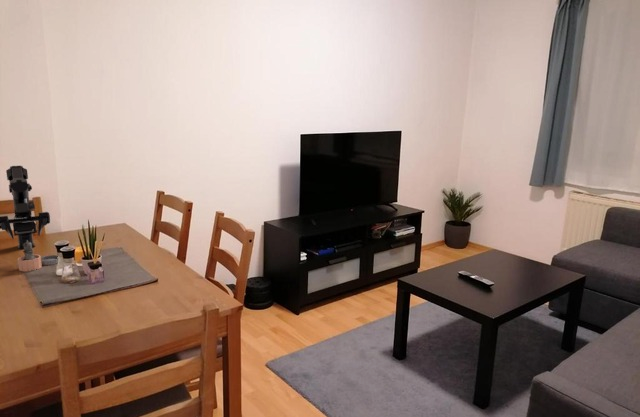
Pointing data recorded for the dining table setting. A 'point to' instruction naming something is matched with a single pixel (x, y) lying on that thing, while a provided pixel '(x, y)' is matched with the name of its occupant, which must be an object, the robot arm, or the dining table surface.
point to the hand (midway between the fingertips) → (26, 237)
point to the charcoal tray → (49, 260)
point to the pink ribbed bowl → (29, 263)
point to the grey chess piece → (28, 251)
